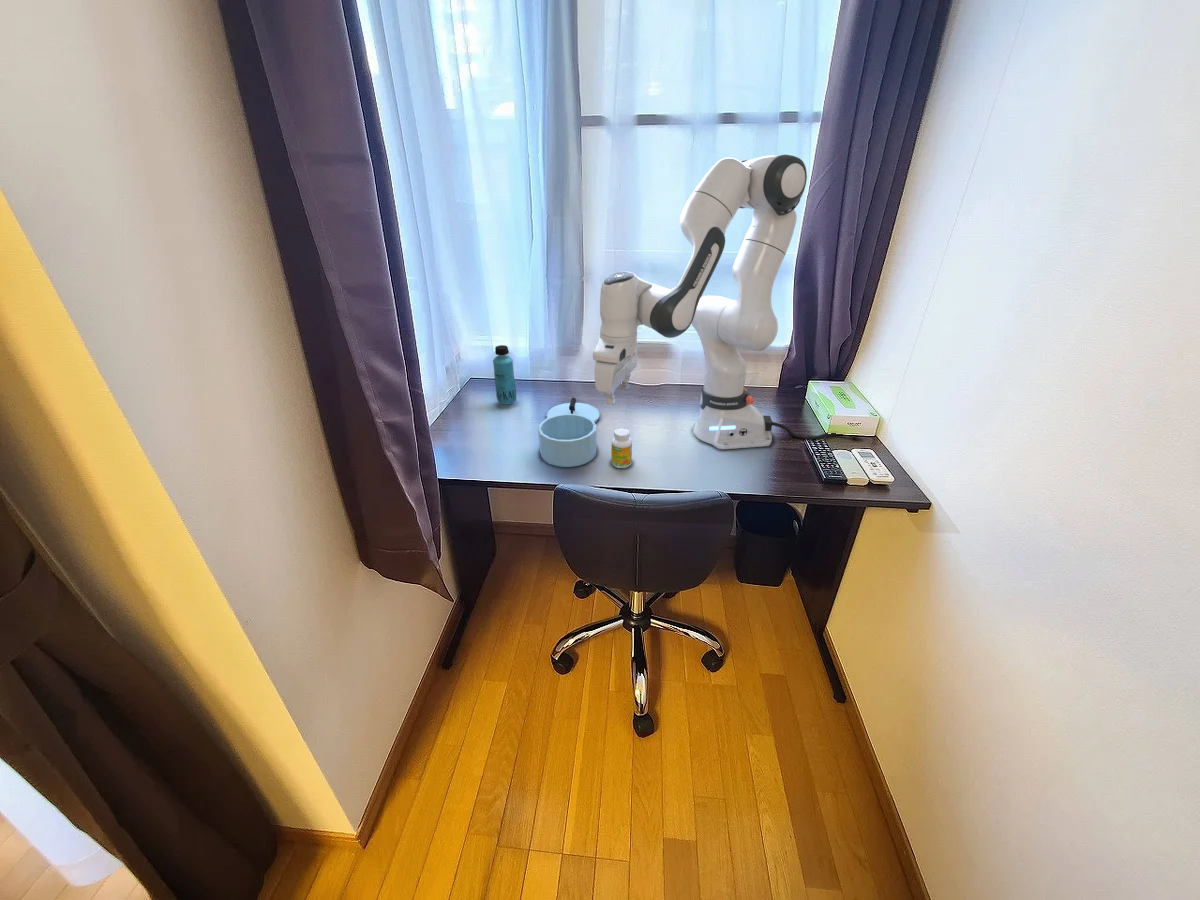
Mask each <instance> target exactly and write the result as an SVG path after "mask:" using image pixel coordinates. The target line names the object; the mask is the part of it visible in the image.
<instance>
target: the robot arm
mask: <svg viewBox="0 0 1200 900" xmlns="http://www.w3.org/2000/svg"><path fill="white" fill-rule="evenodd" d="M807 174H808V173H807V167H806V164H805V163H804V161H803V160H802V159H801V158H800V157H798V156H796V155H795V156H794V155H791V154H780V155H764V156H760V157H757V158H753V159H749V160H748V159H747V160H746V159H745V160H742V161H740V160H739V159H737V158H734V157H724V158H721V159H720V160H718V161H717V162H715V164H714V165H713V166H712V167H711V168H710V169H709V170H708V171H707V173H706V174H705V175H704V176H703V177H702V179H701V180H700V182H699V183H698V184H697V186H696V187H695V189H694V190H693V191H692V193H691V195H690V197H689V198H688V200H687V201H686V203H685V205H684V207H683V208H682V211H681V214H680V217H679V218H680V219H679V224H680V228H681V229H680V230H681V232H682V234H683V236H684V237H685V239H686V240H687V241H688V242H689V243H690V245H691V246H692V254H691V257H690V259H689V261H688V263H687V264H686V265H687V266H686V267H685V269H684V271H683V273H682V275H681V278H680V280H679V281H678V284H677V285H676V286H675V287H673V288H671V289H670V288H667V287H664V286H662V285H659V284H657V283H653V282H650V281H646V280H644V279H642V278H641V277H639V276H637V275H636V274H635V273H634V272H632V271H626V270H625V271H616V272H613V273H611V274H608V275H607V276H606V277H604V279H603V281H602V283H601V286H600V287H601V288H600V295H599V316H600V319H601V325H600V328H599V338H598V341H597V344H596V347H595V348H594V350H593V352H592V360H593V361H595V363H594V386H595V390H596V391H597V393H599V394H604V396H605V399H606V404H607V405H609V406H613V405H614V404H615V403H616V396H615V395H614V393H615V390H616V389H617V388H618V387H619V389H620V390H622V391H626V390H628V389H629V382H630V377H631V373H632V372H633V370H635V369H636V367H637V365H638V328H639V326H642V325H644V326H646V327H648V328H650V329H652V330H654V331H655V332H656V333H658V334H659V335H661V336H663V337H665V338H668V339H673V338H677V337H679V336H681V335H682V334H684V333H685V332H686V331H688V329H689V328H690V327H691V325H692V327H693V328H694V330H695V331H696V333H697V335H698V337H699V340H700V342H701V346H702V350H703V354H704V362H705V364H704V367H705V368H704V379H703V380H704V381H703V386H702V387H701V392H700V399H699V406H700V408H699V412H698V416H697V419H696V421H695V422H696V423H695V425H694V427H693V429H692V430H693V431H692V432H693V435H694V436H695V438H697V439H698V440H700V441H702V442H704V443H707V444H710V445H711V446H713V447H715V448H717V449H718V450H733V449H745V448H746V449H748V448H760V447H761V448H763V447H770V445H771V444H772V441H773V435H772V430H773V429H772V428H773V426H774V427H778V428H781V429H783V430H785V431H786V432H787V434H788V435H790V437H791V436H792V437H794V438H796V439H801V440H820V439H824V438H826V437H829V436H844V435H843V434H836V433H831V434H828V432H825V433H822V434H819V435H803V434H798V433H795V432H793V431H792V430H791V428H789V427H788V426H786V425H785V424H783V423H779V422H775V421H773V420H772V417H771V415H763V413H762V412H761V410H759V408H757V407H756V406H754V405H753V404H754V403H755V399H754V397H753V396H751V393H750V392H749V391H748V390H747V389H746V387H745V383H746V377H747V371H748V370H747V369H748V367H747V363H746V360H745V359H744V357H743V356H742V355H741V352H740V351H739V349H741V350H747V351H754V352H755V351H756V352H762V351H763V350H766V349H767V348H769V347H770V346H771V344H773V343H774V341H775V339H776V337H777V335H778V332H779V323H778V318H777V316H776V315H775V313H774V310H773V306H772V294H773V293H772V292H773V287H774V284H775V281H776V278H777V275H778V273H779V271H780V268H781V266H782V263H783V261H784V258H785V257H786V254H787V252H788V250H789V247H790V245H791V241H792V238H793V235H794V231H795V228H796V224H797V218H798V215H797V212H796V210H795V209H796V208H797V207H798V205H799V204H800V202H801V198H802V197H803V195H804V192H805V189H806V185H807V180H808V175H807ZM739 209H749V210H752V220H751V224H750V227H749V228H748V230H747V231H746V234H745V236H744V239H743V241H742V244H741V246H740V248H739V251H738V253H737V255H736V257H735V260H734V262H733V265H732V267H731V275H732V278H733V280H734V281H735V282H736V284H737V295H736V298H735V299H733V298H730V297H729V298H728V297H725V296H722V295H703V294H704V292H705V291H706V288H707V286H708V284H709V282H710V280H711V278H712V276H713V274H714V272H715V271H716V268H717V265H718V264H719V261H720V259H721V257H722V255H723V252H724V249H725V245H726V236H725V235H726V231H727V229H728V227H729V225H730V223H731V222H732V220H733V219H734V217H735V216H736V214H737V212H738V210H739ZM845 436H846V437H850V438H852V439H853V440H854V441H859V438H858V436H856V437H852V436H848V435H845Z"/></svg>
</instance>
